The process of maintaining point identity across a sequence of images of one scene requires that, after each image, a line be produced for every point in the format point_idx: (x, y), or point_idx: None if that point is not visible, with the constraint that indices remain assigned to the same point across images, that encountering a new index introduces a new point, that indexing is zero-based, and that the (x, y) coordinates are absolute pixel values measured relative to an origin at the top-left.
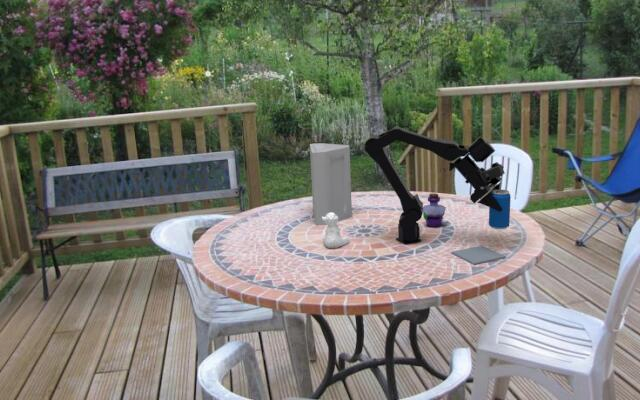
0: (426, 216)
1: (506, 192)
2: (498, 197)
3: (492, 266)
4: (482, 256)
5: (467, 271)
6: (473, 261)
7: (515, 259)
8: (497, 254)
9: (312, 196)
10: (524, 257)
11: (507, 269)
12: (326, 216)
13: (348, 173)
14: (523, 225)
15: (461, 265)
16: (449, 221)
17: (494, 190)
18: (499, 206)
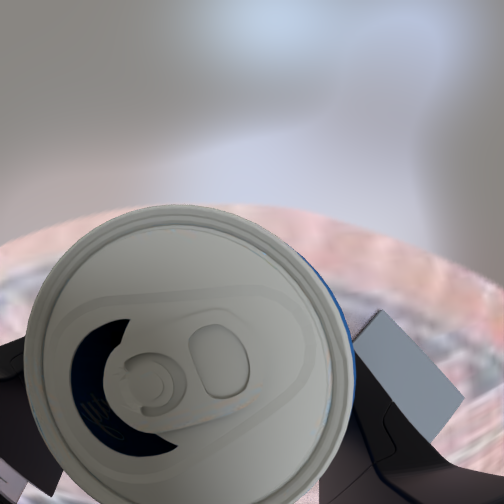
0: None
1: (146, 261)
2: (353, 389)
3: (459, 340)
4: (405, 393)
5: (499, 396)
6: (452, 406)
7: (382, 275)
8: (373, 344)
9: None
10: (353, 245)
11: (467, 289)
12: None
13: None
14: (17, 267)
15: (465, 431)
16: (27, 493)
17: (75, 468)
18: (357, 357)
